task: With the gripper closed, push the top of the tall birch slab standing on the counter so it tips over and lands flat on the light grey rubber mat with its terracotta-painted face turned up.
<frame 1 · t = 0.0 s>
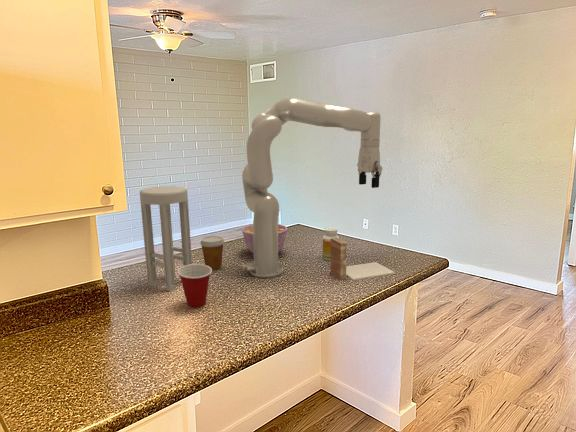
hand: (368, 185, 174), 31 cm above the kitchen counter, tool pointing down, fingers open, 9 cm apart
stool: (170, 283, 156), on the kitchen counter
supplement bottle: (330, 258, 182), on the kitchen counter
plastic cup: (197, 304, 138), on the kitchen counter
bowl of food: (265, 254, 189), on the kitchen counter
mat: (365, 271, 165), on the kitchen counter
slab: (337, 275, 161), on the kitchen counter
disposable coffee cup: (213, 267, 172), on the kitchen counter
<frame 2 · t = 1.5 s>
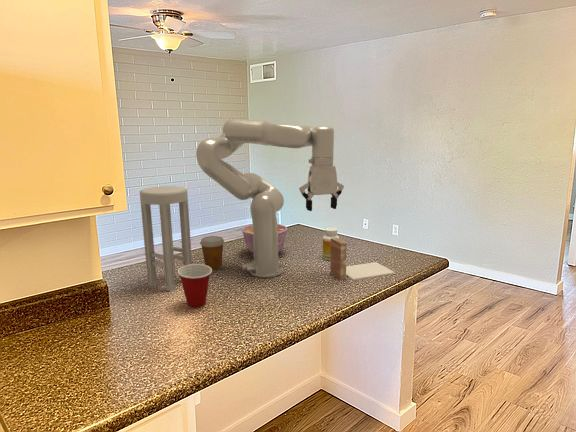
hand: (321, 209, 154), 26 cm above the kitchen counter, tool pointing down, fingers open, 9 cm apart
nothing on the kitchen counter moved.
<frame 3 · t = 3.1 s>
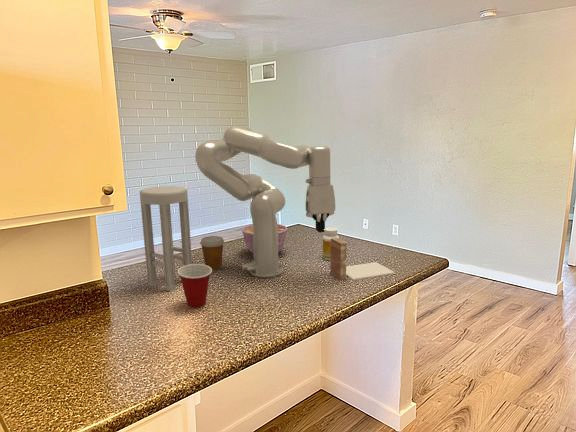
hand: (320, 231, 154), 18 cm above the kitchen counter, tool pointing down, fingers closed
nothing on the kitchen counter moved.
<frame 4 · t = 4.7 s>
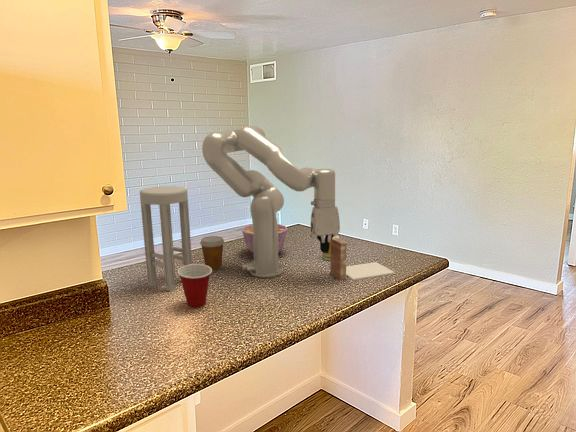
hand: (324, 251, 157), 10 cm above the kitchen counter, tool pointing down, fingers closed
nothing on the kitchen counter moved.
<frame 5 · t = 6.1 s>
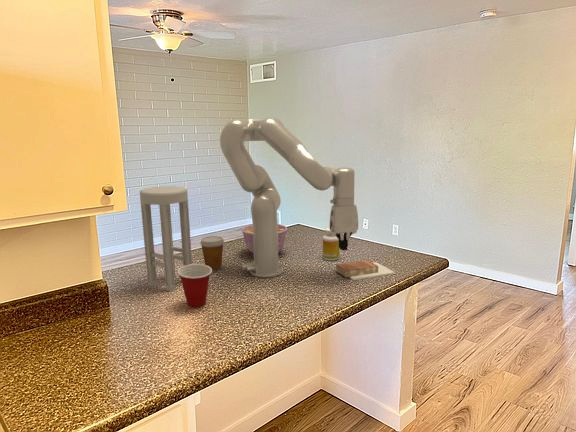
hand: (343, 249, 160), 10 cm above the kitchen counter, tool pointing down, fingers closed
slab: (340, 270, 161), point 2 cm above the kitchen counter, tilted 90°, touching mat
everything else where it was.
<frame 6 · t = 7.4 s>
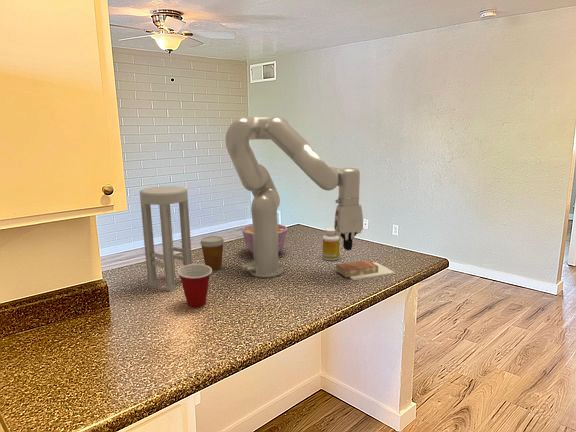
hand: (347, 249, 160), 10 cm above the kitchen counter, tool pointing down, fingers closed
nothing on the kitchen counter moved.
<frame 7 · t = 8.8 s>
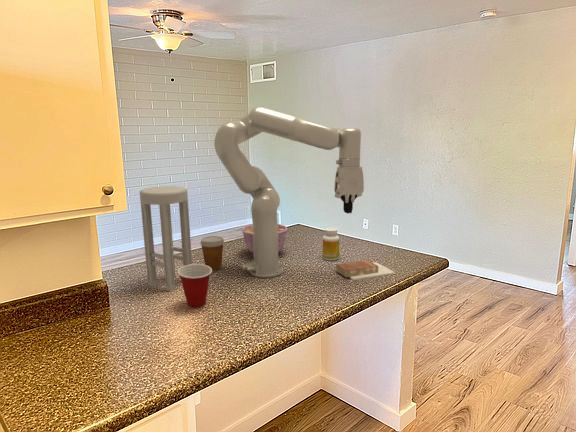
hand: (347, 212, 157), 24 cm above the kitchen counter, tool pointing down, fingers closed
nothing on the kitchen counter moved.
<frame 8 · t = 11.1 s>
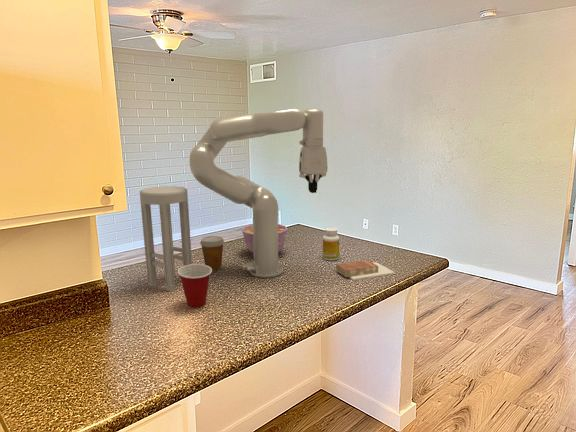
hand: (312, 192, 161), 31 cm above the kitchen counter, tool pointing down, fingers closed
nothing on the kitchen counter moved.
at the end: slab tilted 90°; slab touching mat; slab inside the target area (0.3 cm from its centre), point 1.8 cm above the kitchen counter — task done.
